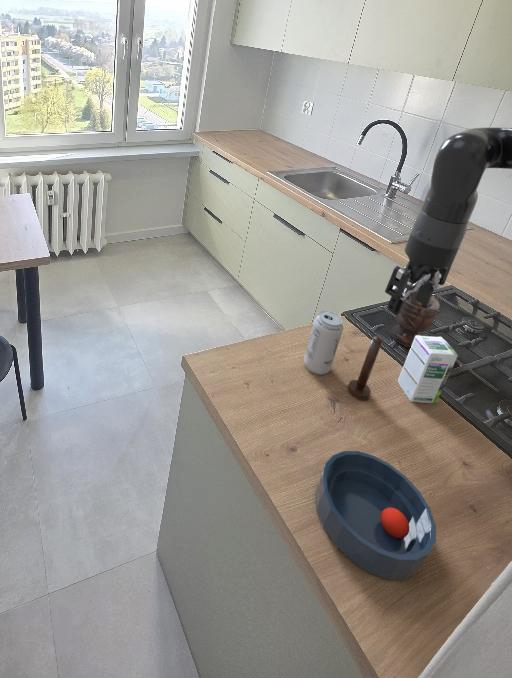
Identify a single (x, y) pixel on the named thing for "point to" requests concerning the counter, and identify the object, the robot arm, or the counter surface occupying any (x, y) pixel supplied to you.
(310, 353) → the energy drink can
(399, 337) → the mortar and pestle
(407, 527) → the ball
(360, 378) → the brown wooden pestle
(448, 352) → the syrup box
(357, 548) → the bowl
